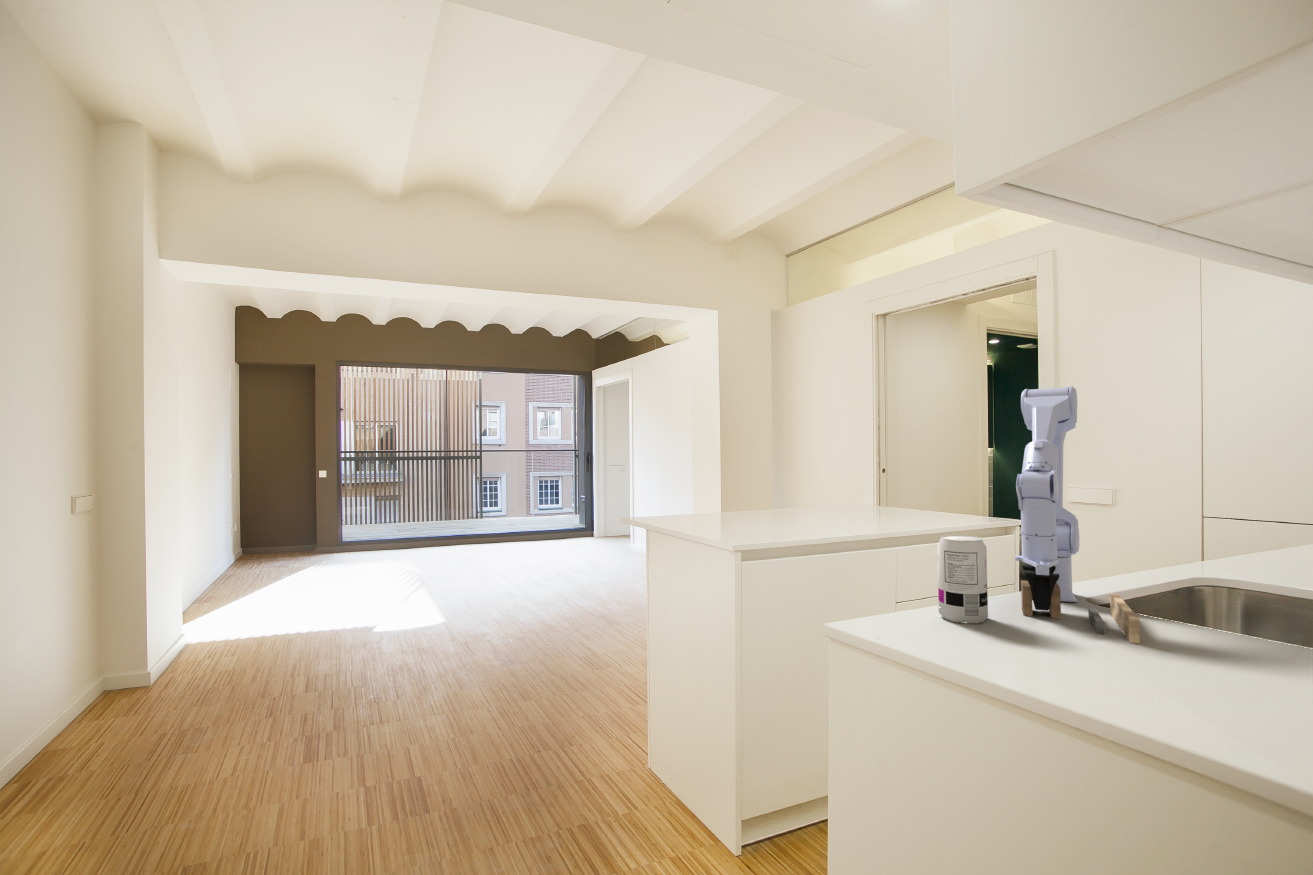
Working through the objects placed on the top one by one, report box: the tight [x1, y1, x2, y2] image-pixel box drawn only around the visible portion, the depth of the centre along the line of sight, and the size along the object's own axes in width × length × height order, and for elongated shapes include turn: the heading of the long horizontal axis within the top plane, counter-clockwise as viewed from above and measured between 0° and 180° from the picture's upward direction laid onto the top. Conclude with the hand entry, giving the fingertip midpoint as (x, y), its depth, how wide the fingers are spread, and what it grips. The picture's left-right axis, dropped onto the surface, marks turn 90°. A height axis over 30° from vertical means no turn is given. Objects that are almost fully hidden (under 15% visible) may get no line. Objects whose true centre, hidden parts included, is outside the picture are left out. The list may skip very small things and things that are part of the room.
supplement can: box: [936, 534, 989, 624], centre depth 117 cm, size 8×8×15 cm
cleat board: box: [1087, 592, 1141, 645], centre depth 110 cm, size 18×5×4 cm, turn 152°
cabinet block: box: [1020, 580, 1062, 620], centre depth 119 cm, size 5×6×7 cm
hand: (1040, 606), depth 119 cm, fingers closed on cabinet block, 5 cm apart
